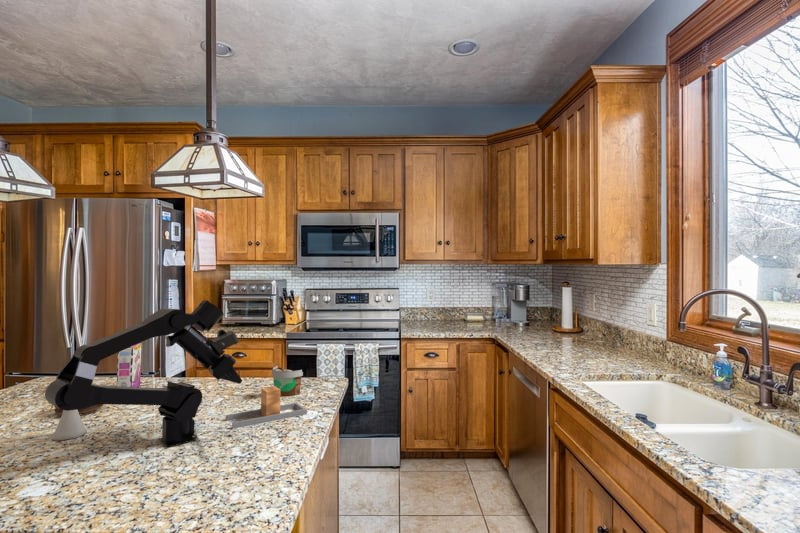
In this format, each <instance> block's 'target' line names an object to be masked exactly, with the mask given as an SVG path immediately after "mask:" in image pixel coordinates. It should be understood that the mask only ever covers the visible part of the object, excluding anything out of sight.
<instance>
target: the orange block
mask: <svg viewBox="0 0 800 533" xmlns="http://www.w3.org/2000/svg"><path fill="white" fill-rule="evenodd" d="M280 405H281V396H280V389H279V388H277V387H276V386H274V385H272V386H266V387H261V390H260V409H261V415H260V417H264V416H270V415H275V414H280V413H281V411H280Z"/></svg>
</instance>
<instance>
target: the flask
mask: <svg viewBox="0 0 800 533" xmlns="http://www.w3.org/2000/svg"><path fill="white" fill-rule="evenodd" d="M86 433H87V429H86V426H85V423H84V422H83V420H82V417H81V415H79V412H78V409H77V410H70V411H66V410H63V413H62V415H60V419H59V421H58V424H57V426H56V429H55V430H54V433H53V435H52V437H51V440H53V441H65V440H71V439H77V438H79V437H81V436H83V435H85V434H86Z"/></svg>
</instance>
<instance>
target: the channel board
mask: <svg viewBox="0 0 800 533" xmlns="http://www.w3.org/2000/svg"><path fill="white" fill-rule="evenodd" d="M293 409H296V410H293ZM307 409H308V408H306V407H304V406H303V405H301V404H300V403H298V402H293V403H291V402H290V403H287V404H285V403H284V404H280V414H275V415H270V416H264V417H262V416H261V408H258V409H253V410H246V411H243V412H242V411H241V412H235V413H230V414H226V415H225V422H229V421H234V420H237V421H234V422H232V423H231V424H232V425H231V429H232V430H235V429H239V428H244V427H249V426H253V425H254V426H255V425H259V424H265V423H269V422H275V421H279V420H280V421H281V420H284V419H285V420H286V419H289V418H295V417H299V416H300V417H301V416H306V415H308V410H307ZM287 410H292V411H287ZM283 411H287V412H283ZM255 416H256V417H255ZM257 416H258V417H257ZM259 416H260V417H259ZM250 417H255V418H250ZM244 418H245V419H244ZM246 418H250V419H246ZM238 419H239V421H238ZM240 419H243V420H240Z"/></svg>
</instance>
